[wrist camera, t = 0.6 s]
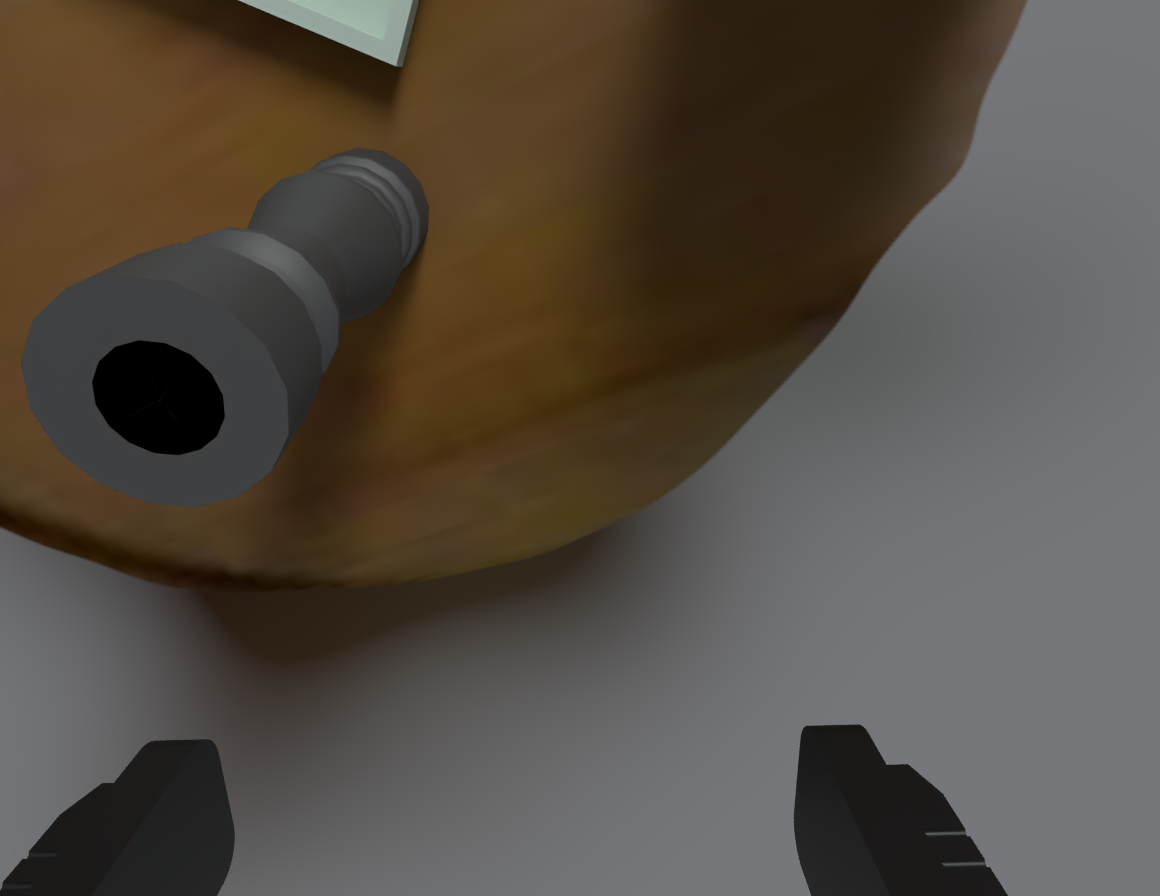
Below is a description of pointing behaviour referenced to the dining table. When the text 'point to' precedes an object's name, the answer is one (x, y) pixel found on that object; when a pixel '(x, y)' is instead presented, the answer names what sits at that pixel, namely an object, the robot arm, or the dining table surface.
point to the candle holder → (221, 334)
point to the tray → (352, 22)
